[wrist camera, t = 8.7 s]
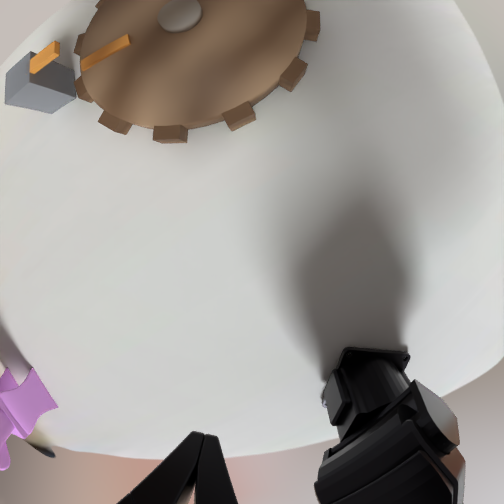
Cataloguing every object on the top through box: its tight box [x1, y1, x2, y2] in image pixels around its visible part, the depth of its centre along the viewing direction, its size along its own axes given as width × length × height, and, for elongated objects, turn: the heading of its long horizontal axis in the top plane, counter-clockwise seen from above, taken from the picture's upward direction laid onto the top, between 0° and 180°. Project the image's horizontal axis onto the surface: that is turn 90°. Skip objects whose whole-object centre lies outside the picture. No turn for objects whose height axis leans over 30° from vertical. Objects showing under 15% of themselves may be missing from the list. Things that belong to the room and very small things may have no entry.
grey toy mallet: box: [5, 41, 76, 114], centre depth 14 cm, size 3×6×6 cm, turn 105°
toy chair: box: [0, 368, 58, 470], centre depth 18 cm, size 8×9×15 cm
